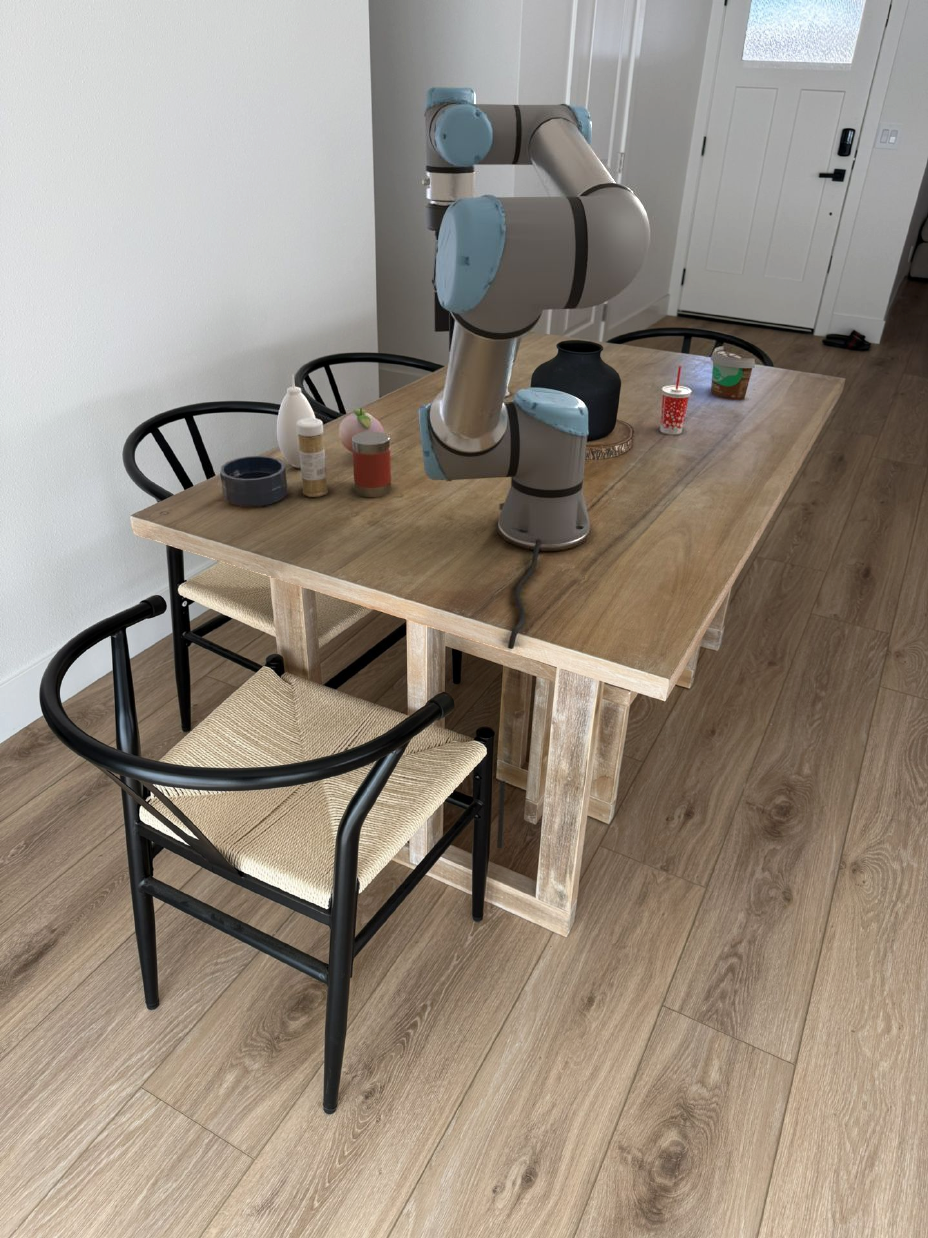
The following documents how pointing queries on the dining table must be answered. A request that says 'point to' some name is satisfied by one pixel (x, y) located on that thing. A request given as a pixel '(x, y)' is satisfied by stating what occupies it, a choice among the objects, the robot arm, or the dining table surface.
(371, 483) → the tin can
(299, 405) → the sauce bottle
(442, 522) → the dining table surface
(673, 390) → the beverage cup
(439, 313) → the robot arm
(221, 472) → the bowl
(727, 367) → the food container
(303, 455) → the sprinkles bottle
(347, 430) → the decorative fruit
